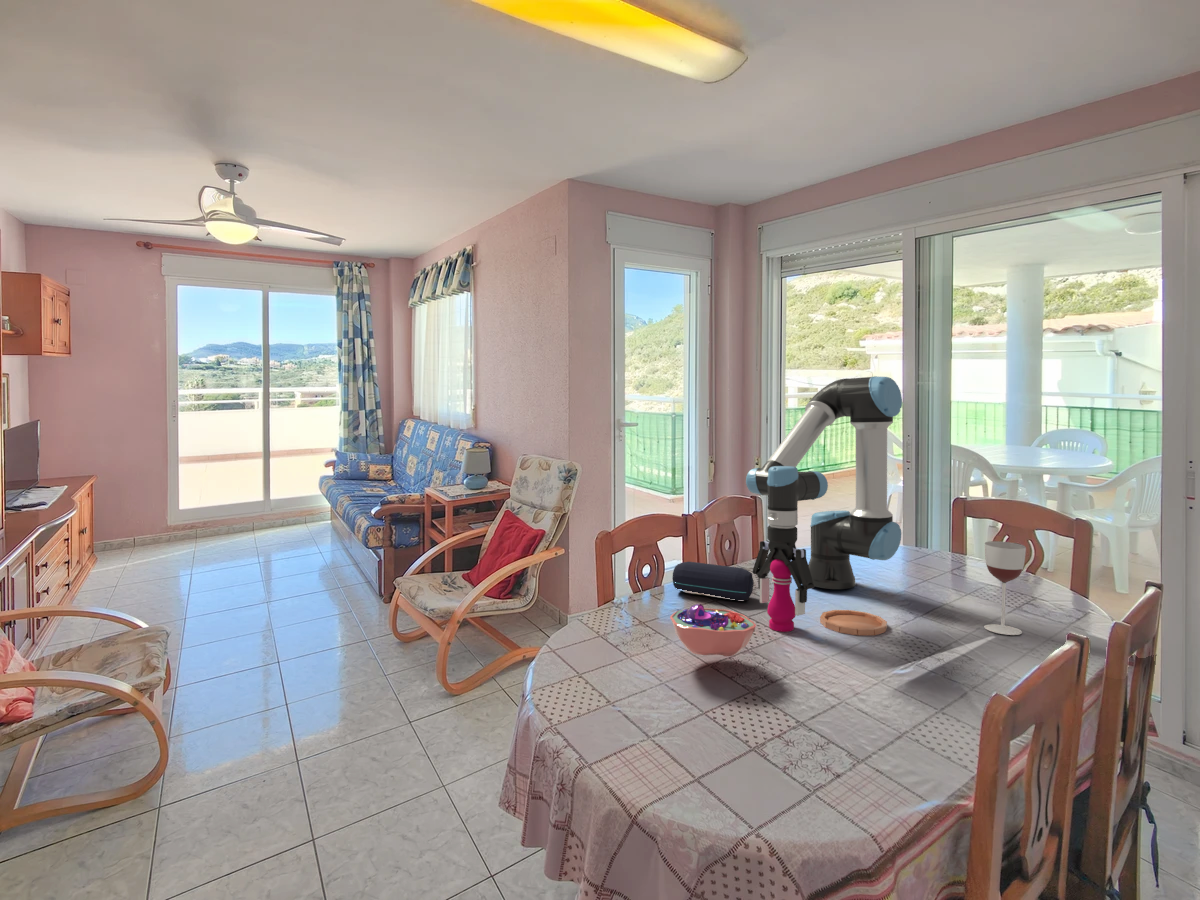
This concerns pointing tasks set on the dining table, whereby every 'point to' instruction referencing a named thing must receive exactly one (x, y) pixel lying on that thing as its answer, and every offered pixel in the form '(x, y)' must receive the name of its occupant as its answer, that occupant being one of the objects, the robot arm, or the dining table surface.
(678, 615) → the cell model
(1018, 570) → the wineglass
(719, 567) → the portable speaker
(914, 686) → the dining table surface
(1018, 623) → the dining table surface
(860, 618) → the terracotta saucer
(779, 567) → the pepper mill
